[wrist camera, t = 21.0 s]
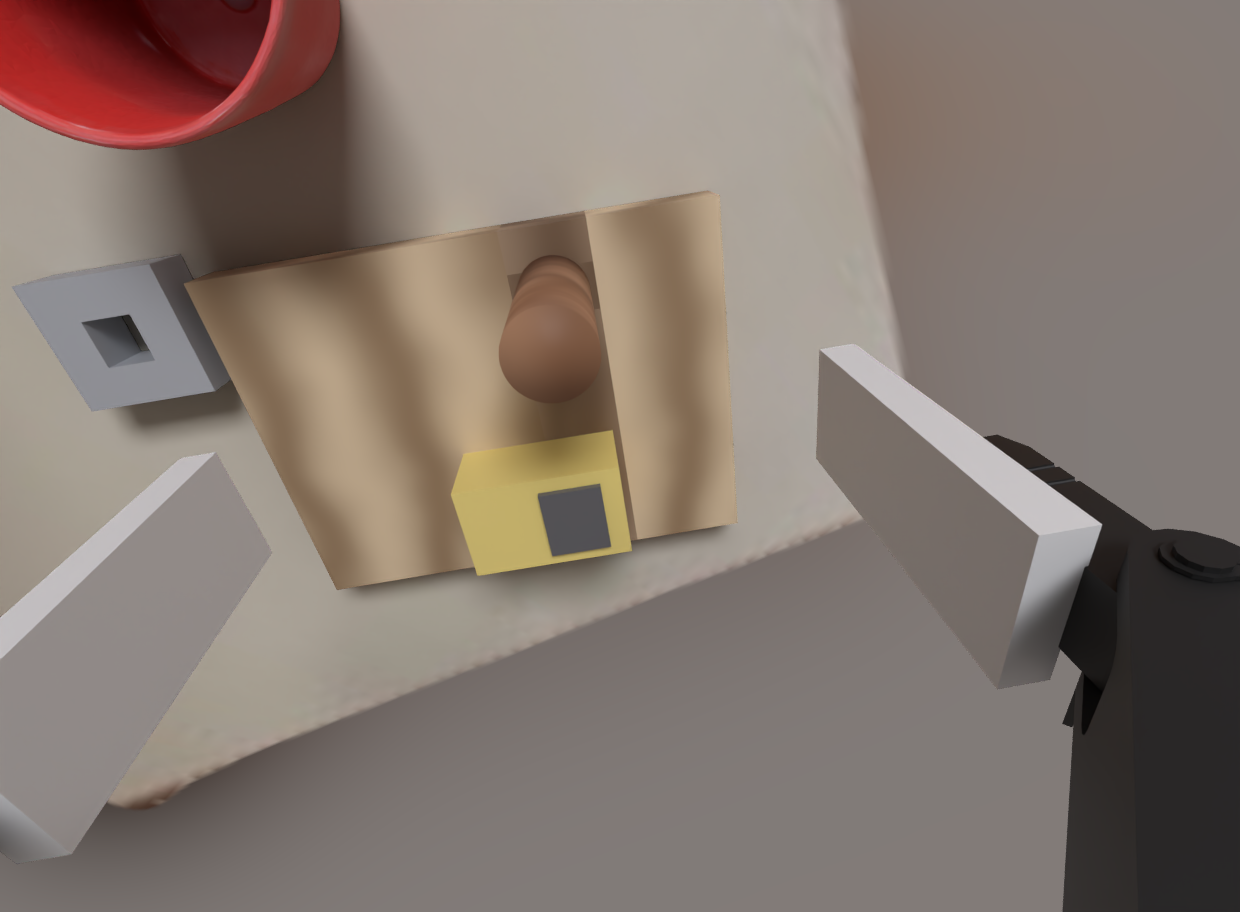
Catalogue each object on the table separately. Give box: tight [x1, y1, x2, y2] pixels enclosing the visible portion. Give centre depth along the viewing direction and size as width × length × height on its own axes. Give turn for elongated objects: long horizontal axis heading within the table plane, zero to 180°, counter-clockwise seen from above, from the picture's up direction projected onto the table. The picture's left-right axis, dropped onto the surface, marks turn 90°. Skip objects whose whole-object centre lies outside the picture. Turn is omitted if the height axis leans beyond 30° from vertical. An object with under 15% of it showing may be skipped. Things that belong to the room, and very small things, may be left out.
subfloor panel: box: [184, 191, 737, 590], centre depth 31 cm, size 24×18×2 cm
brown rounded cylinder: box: [499, 255, 601, 403], centre depth 24 cm, size 3×3×11 cm
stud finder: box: [451, 430, 632, 576], centre depth 30 cm, size 8×5×4 cm, turn 98°
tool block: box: [12, 254, 231, 411], centre depth 28 cm, size 6×6×2 cm
